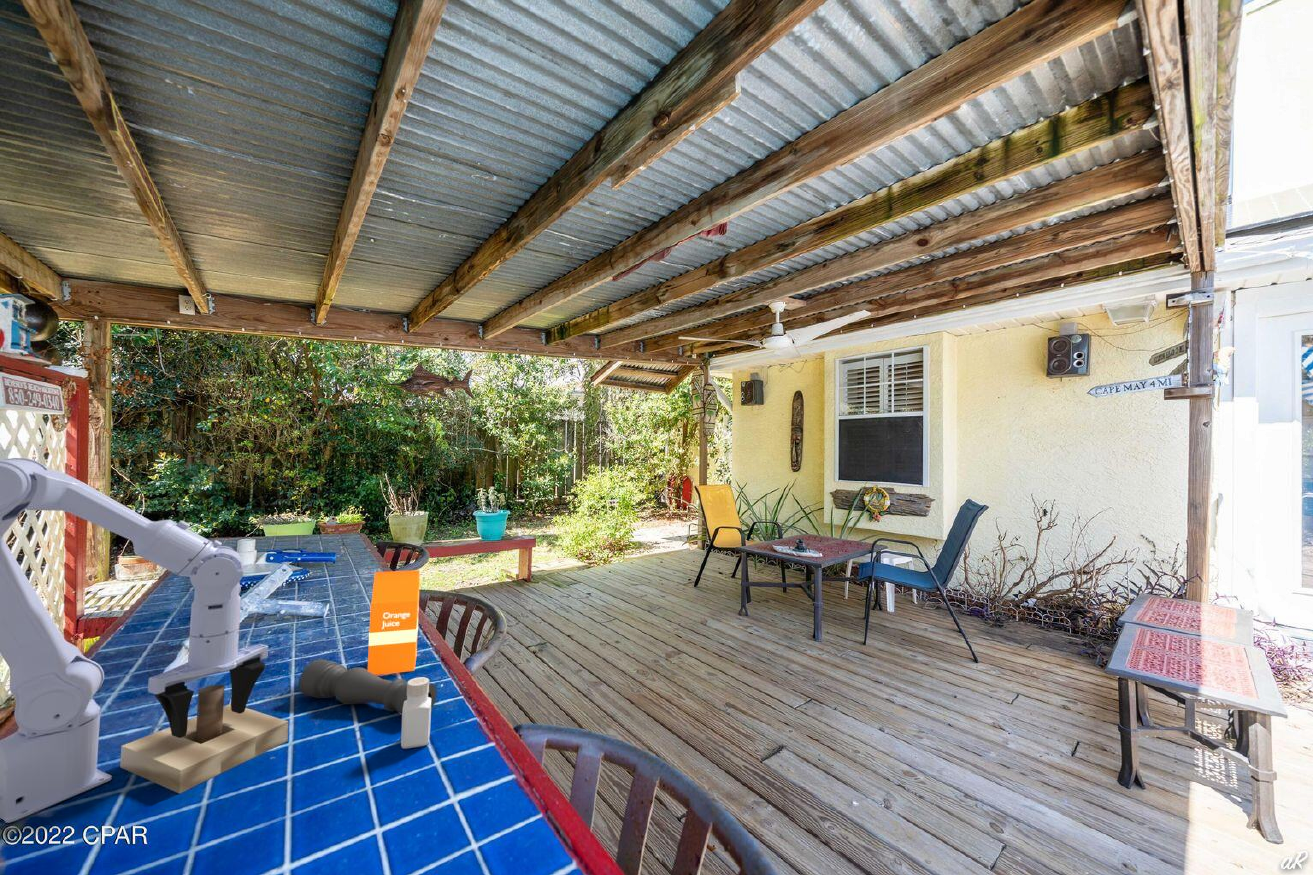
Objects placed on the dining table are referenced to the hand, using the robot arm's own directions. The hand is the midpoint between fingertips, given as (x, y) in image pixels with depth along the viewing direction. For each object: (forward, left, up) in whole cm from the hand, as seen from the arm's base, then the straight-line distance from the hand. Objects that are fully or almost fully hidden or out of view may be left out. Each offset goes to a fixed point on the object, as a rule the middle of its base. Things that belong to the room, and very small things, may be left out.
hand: (209, 722), depth 79 cm
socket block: (0, 0, -4) cm, 4 cm away
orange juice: (+35, +2, -5) cm, 35 cm away
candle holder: (+19, +5, -1) cm, 20 cm away
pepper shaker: (+15, -25, -5) cm, 30 cm away
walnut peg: (0, 0, -4) cm, 4 cm away
